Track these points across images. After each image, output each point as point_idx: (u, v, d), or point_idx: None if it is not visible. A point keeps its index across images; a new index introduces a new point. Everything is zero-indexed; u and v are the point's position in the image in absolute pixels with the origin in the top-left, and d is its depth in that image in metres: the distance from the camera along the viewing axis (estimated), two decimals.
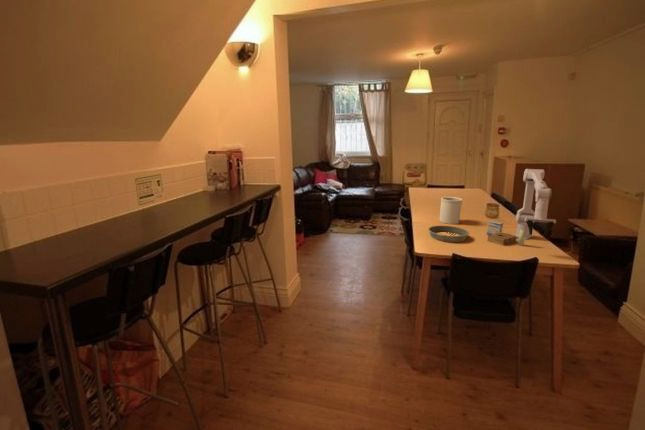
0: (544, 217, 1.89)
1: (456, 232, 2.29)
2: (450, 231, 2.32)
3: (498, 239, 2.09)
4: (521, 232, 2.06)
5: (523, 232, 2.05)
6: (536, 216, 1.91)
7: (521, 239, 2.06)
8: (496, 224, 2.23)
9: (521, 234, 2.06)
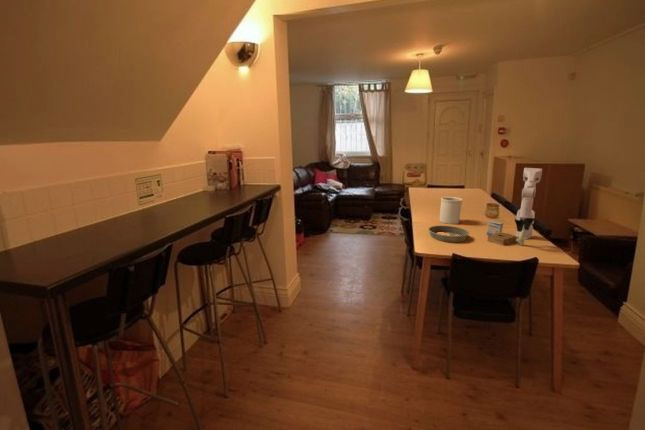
0: (530, 214, 2.02)
1: (456, 232, 2.29)
2: (450, 231, 2.32)
3: (498, 239, 2.09)
4: (521, 232, 2.06)
5: (523, 232, 2.05)
6: (525, 214, 2.01)
7: (521, 239, 2.06)
8: (496, 224, 2.23)
9: (521, 234, 2.06)
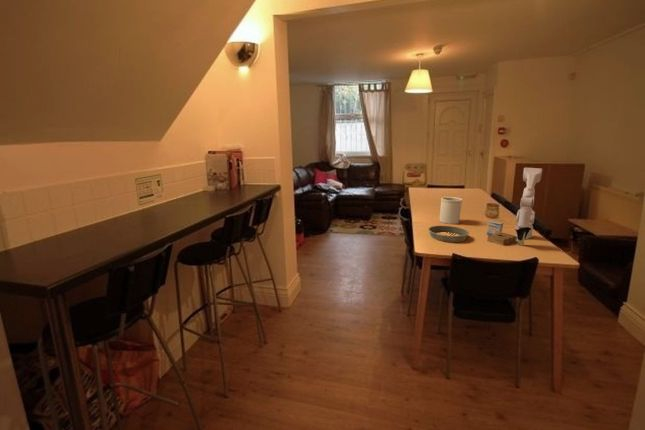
0: (529, 223, 2.04)
1: (456, 232, 2.29)
2: (450, 231, 2.32)
3: (498, 239, 2.09)
4: None
5: None
6: (524, 224, 2.03)
7: None
8: (496, 224, 2.23)
9: None
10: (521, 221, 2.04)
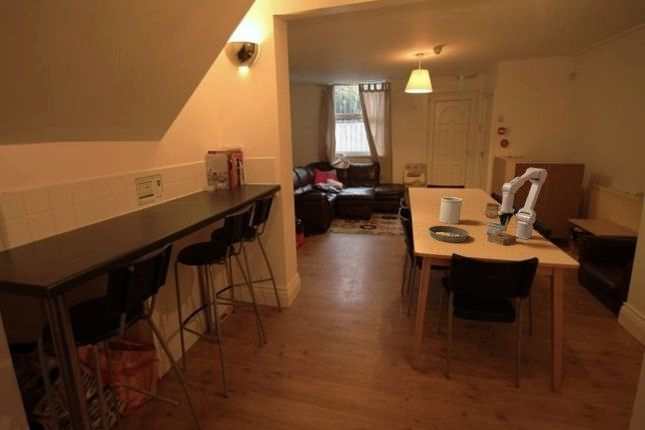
0: (511, 209, 2.08)
1: (456, 232, 2.29)
2: (450, 231, 2.32)
3: (498, 239, 2.09)
4: None
5: None
6: (506, 209, 2.07)
7: None
8: (496, 224, 2.23)
9: None
10: (504, 207, 2.08)
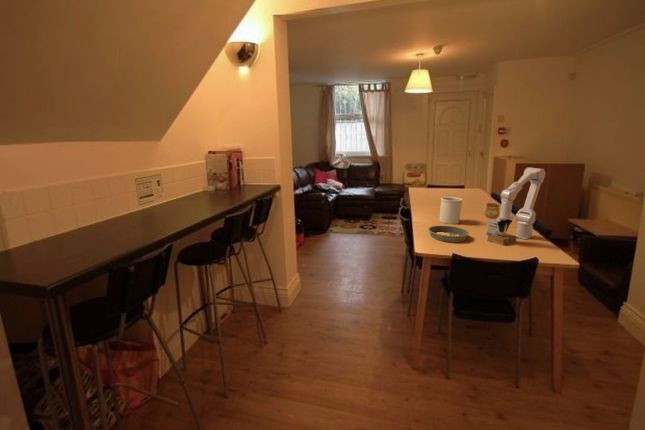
0: (510, 216, 2.10)
1: (456, 232, 2.29)
2: (450, 231, 2.32)
3: (498, 239, 2.09)
4: None
5: (505, 225, 2.11)
6: (505, 216, 2.09)
7: (503, 232, 2.12)
8: (496, 224, 2.23)
9: None
10: (502, 213, 2.09)
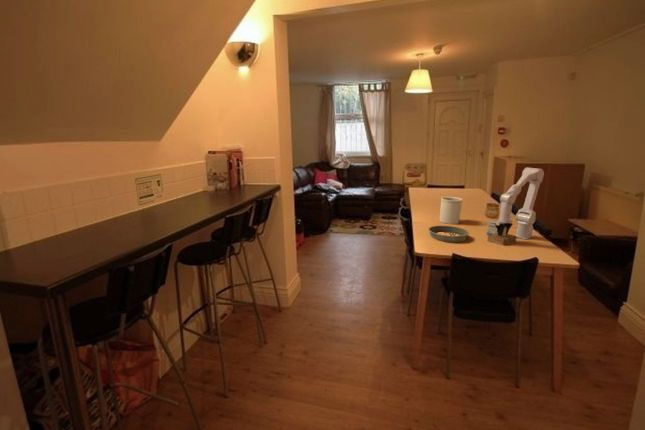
0: (509, 219, 2.10)
1: (456, 232, 2.29)
2: (450, 231, 2.32)
3: (498, 239, 2.09)
4: None
5: (504, 229, 2.12)
6: (504, 219, 2.09)
7: (502, 236, 2.13)
8: None
9: None
10: (502, 217, 2.10)
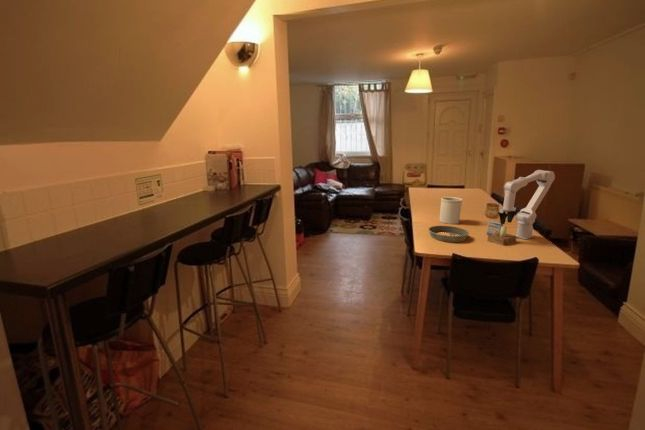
0: (513, 207, 2.13)
1: (456, 232, 2.29)
2: (450, 231, 2.32)
3: (498, 239, 2.09)
4: (502, 229, 2.12)
5: (504, 229, 2.12)
6: (508, 207, 2.12)
7: (502, 236, 2.13)
8: (496, 224, 2.23)
9: (502, 231, 2.12)
10: (505, 205, 2.13)
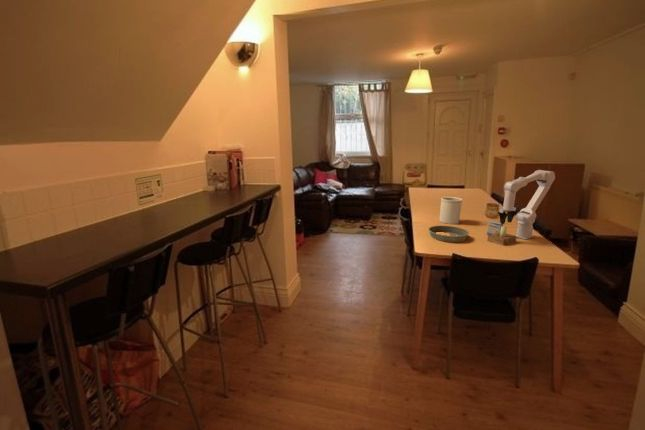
0: (513, 207, 2.13)
1: (456, 232, 2.29)
2: (450, 231, 2.32)
3: (498, 239, 2.09)
4: (502, 229, 2.12)
5: (504, 229, 2.12)
6: (508, 207, 2.12)
7: (502, 236, 2.13)
8: (496, 224, 2.23)
9: (502, 231, 2.12)
10: (505, 205, 2.13)
